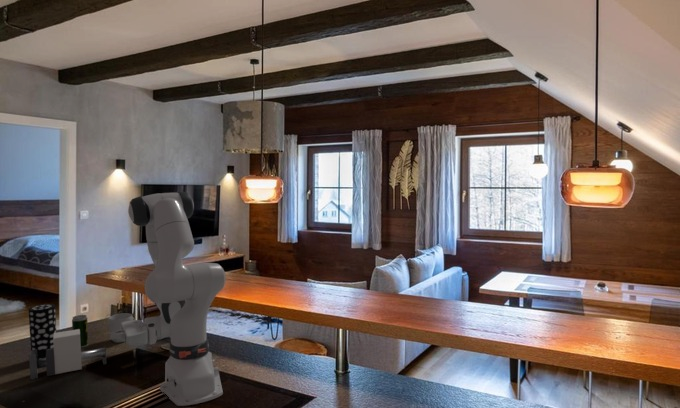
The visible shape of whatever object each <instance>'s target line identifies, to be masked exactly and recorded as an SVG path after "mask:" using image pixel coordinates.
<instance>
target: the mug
mask: <svg viewBox="0 0 680 408" xmlns="http://www.w3.org/2000/svg"><path fill="white" fill-rule="evenodd" d="M133 320H136V319H135V317H133V314H132V313H128V312H127V313H116V314H113V315H111V316H109V317H108V329H109V330H108V332H109V334H110V333H111V332H115V331H118V330H121V323H122V322H125V321H133ZM111 341H112V342H113V343H118V344H119V343H126V341H125V339H112V340H111Z"/></svg>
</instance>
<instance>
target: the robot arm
mask: <svg viewBox="0 0 680 408" xmlns="http://www.w3.org/2000/svg"><path fill="white" fill-rule="evenodd" d="M194 209H195V204H194V200H193V198H192V196H191V194H190V193H188V192H187V191H177V192H162V193H159V192H158V193H152V194H148V195H144V196H137V197H134V198H132V199H131V200H130V201H129V205H128V211H127V212H128V215H129V218H130V221H132V223H133V224H134V225H136V226H139V227H145V237H146V239H145V240H146V243H147V249H148V253H149V255H150V258H151V261H152V263H153V266H154V269H153V270H152V271H151V272H150V273H149V274H148V275H147V277H146V279H145V282H144V292H145V295H146V297H147V298H148V300H150V302H152V303H154V305H155V307H157V308H158V309H159V311H160V312H161V314H160V316H151V317H145V318H144V320H141V319H135V320H133V321H125V322H122V323H121V330H118V331H115V332H111V333H110V332H109V338H110V340H111V341H113V340H112V339H125V343H126V346H127V347H137V346H144V345H147V344H149V345H154V344H156V343H157V341H160V340H162V339H165V338H170V342H169V347H168V348H169V355H170V356H169V357H168V359H167V360H166V361H165V366H164V369H165V370H164V371H165V373H164V375H165V377H164V383H162V384H160V386H159V390H161V392H162V393H163V392H164V393H165V394H166V395H167V396H168V397H169V398H168V397H167V396H166V395H165V394H164V393H163V394H164V395H165V396H166V397H167V398H168V399H169V400H170V401H171V402H172V403H174V405H175V406H178V407H180V406H181V407H182V406H183V407H185V406H191V405H192V406H193V405H199V404H200V403H207V402H209V401H212V400H215V399H217V398H219V397H221V396H222V395H223V394H224V392H223V387H222V382H221V377H220V368H219V366H215V367H214V365H215V364H216V359H213V354H212V352H210V348H209V345H210V344H209V339H208V336H207V321H208V320H207V319H208V313H209V309H210V307H211V305H212V304H213V301H214V299H215V297H216V296H217V295H218V294H219V293H220V292H221V291H222V290H223V289H224V287H225V284H226V279H227V277H226V271H225V270H224V267H222V265H220V264H219V263H218V262H217V263H215V262H199V263H191V264H184V263H183V259H184V258H185V257H187V256H188V255H190V254H191V252H193V250H194V247H195V240H194V237H193V234H192V230H191V226H190V222H189V220H188V219H190V218H191V217H192V216H193V214H194Z"/></svg>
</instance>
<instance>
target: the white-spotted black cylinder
mask: <svg viewBox="0 0 680 408" xmlns="http://www.w3.org/2000/svg"><path fill="white" fill-rule="evenodd" d="M27 312H28V322H29V325H28V328H29V341H30V350H35V349H37V358H38V360H39V359H44V358H46V350H47V349H52V348H54V343H53V336H54V333H58V331H57V318H56V317H57V316H56V305H55V304H54V303H44V304H38V305H33V306H31V307H29V308H28V311H27Z"/></svg>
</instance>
